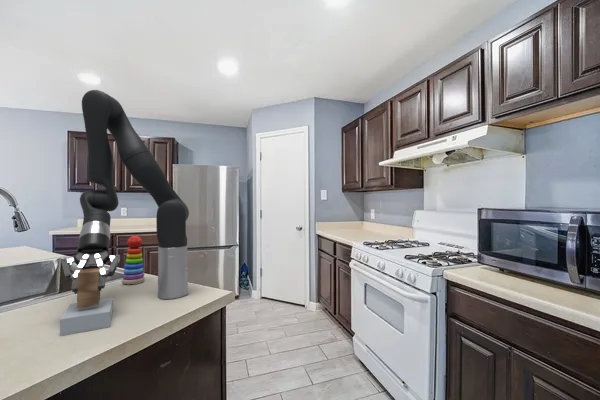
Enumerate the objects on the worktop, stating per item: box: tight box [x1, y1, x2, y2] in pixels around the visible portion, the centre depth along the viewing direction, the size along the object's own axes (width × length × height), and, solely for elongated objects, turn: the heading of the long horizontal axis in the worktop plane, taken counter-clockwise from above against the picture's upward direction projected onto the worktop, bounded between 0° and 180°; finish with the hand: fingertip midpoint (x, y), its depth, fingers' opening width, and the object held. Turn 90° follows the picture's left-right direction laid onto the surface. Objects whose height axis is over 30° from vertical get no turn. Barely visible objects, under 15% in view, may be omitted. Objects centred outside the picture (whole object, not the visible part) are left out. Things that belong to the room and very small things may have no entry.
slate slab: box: [59, 297, 114, 337], centre depth 76 cm, size 10×12×4 cm
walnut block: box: [76, 268, 101, 308], centre depth 76 cm, size 4×4×9 cm
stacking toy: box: [121, 235, 145, 286], centre depth 113 cm, size 8×8×19 cm
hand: (88, 290), depth 74 cm, fingers closed on walnut block, 4 cm apart
